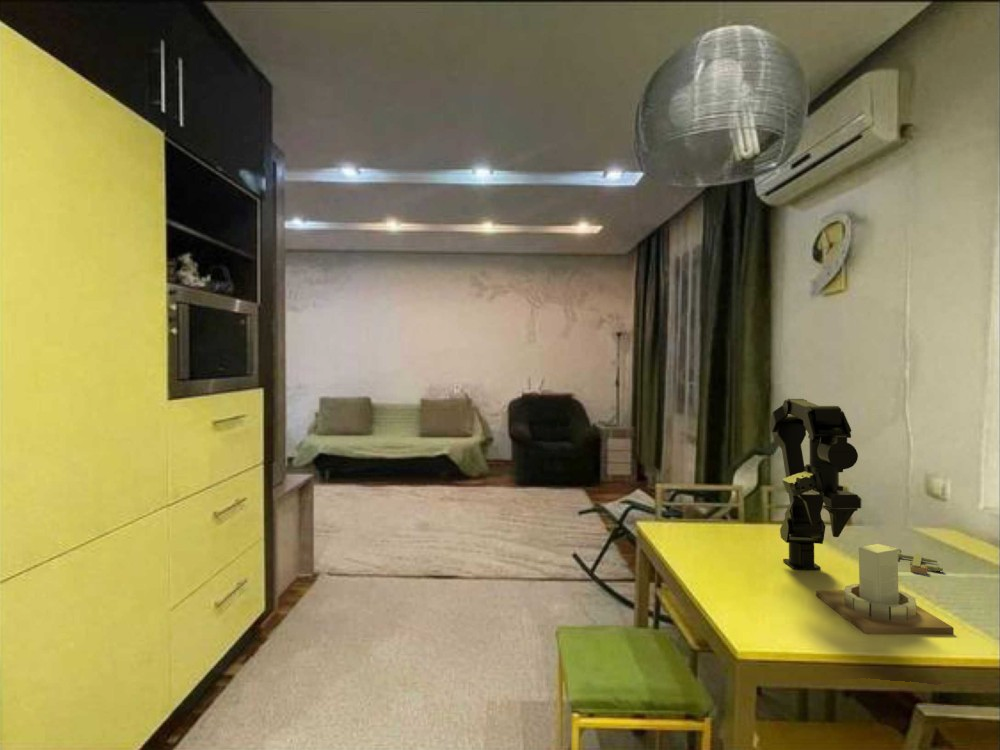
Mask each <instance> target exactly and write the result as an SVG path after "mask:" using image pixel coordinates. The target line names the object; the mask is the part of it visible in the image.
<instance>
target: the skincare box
mask: <svg viewBox="0 0 1000 750" xmlns="http://www.w3.org/2000/svg"><path fill="white" fill-rule="evenodd" d="M858 569H859V571H858V577H859V578H858V581H859V582H858V584H859V586H860V598H862V599H864V600H867V601H870V602H875V603H880V604H886V605H899V593H898V590H899V560H898V549H897V548H895V547H891V546H888V545H884V544H881V543H874V544H871V545H866V546H865V545H864V546H861V547H858Z"/></svg>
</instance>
